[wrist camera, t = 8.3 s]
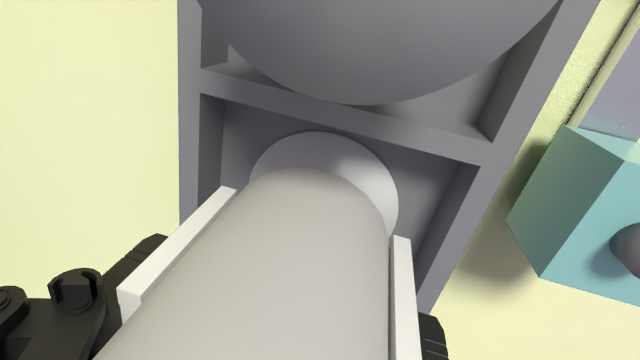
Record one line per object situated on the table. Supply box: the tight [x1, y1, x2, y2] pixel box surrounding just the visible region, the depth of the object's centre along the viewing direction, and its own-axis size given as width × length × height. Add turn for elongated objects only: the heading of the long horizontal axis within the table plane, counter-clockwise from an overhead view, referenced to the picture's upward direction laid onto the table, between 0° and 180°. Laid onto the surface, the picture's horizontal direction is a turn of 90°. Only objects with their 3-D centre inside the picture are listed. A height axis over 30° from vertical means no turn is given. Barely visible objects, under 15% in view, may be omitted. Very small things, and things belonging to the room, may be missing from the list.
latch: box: [505, 124, 640, 307], centre depth 12 cm, size 4×5×5 cm
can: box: [92, 166, 389, 360], centre depth 10 cm, size 8×8×12 cm
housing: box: [177, 0, 601, 315], centre depth 14 cm, size 14×24×3 cm, turn 167°
